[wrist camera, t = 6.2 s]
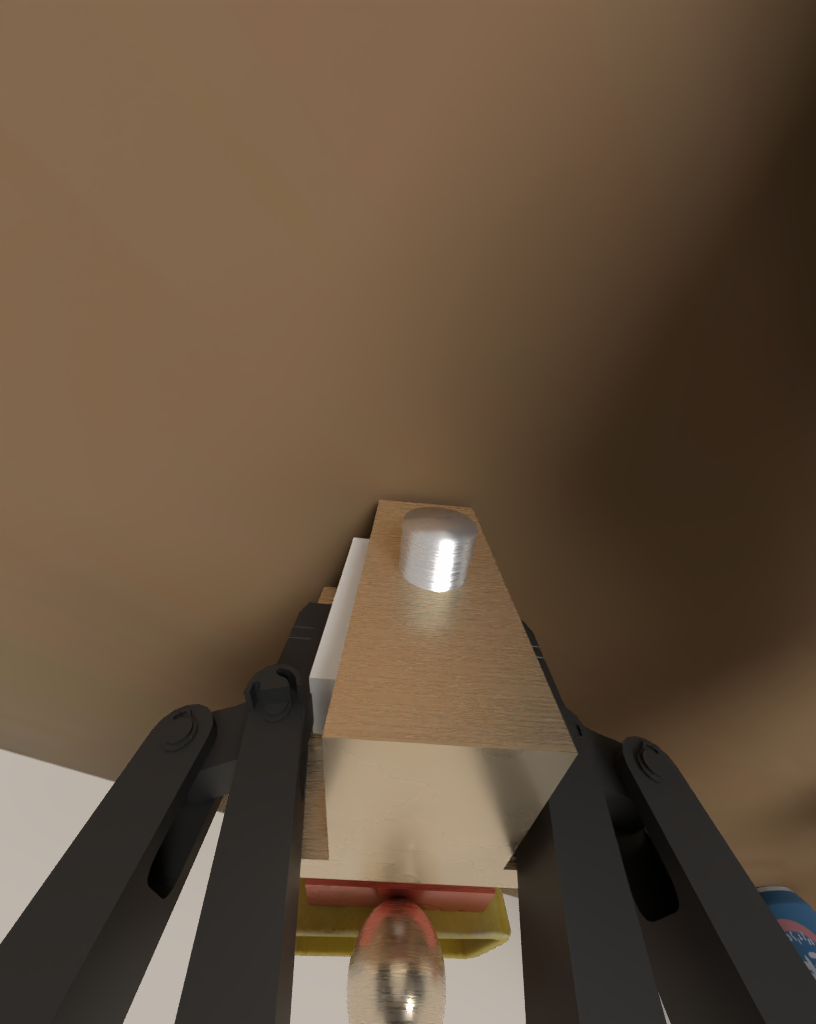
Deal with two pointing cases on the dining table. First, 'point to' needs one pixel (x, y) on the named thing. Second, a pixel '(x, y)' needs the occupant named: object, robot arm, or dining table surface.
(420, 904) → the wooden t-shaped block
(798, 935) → the soda can
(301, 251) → the dining table surface
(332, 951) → the flower pot
